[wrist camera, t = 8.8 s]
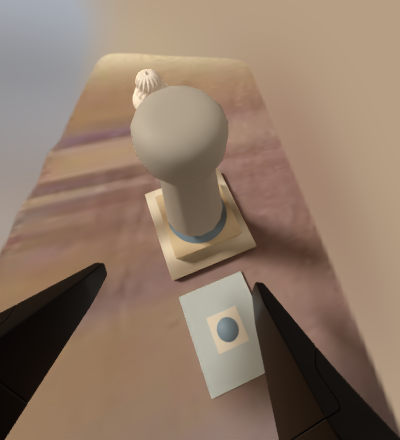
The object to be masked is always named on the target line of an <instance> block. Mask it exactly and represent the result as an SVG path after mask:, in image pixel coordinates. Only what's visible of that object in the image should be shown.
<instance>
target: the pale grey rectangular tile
mask: <svg viewBox="0 0 400 440" xmlns="http://www.w3.org/2000/svg"><path fill="white" fill-rule="evenodd" d="M179 300H180V303H181V306H182V309H183V312H184V315H185V318H186V321H187V324H188V327H189V331H190V334H191V337H192V340H193V343H194V346H195V349H196V352H197V355H198V359H199V362H200V365H201V368H202V371H203V374H204V377H205V380H206V383H207V386H208V390H209V393H210V396H211V399H213V398H215V397H217V396H219V395H221V394H223V393H225V392H228V391H230V390H232V389H234V388H236V387H238V386H240V385H242V384H244V383H246V382H248V381H250V380H252V379H254V378H256V377H258V376H260V375H262V374H264V373H265V370H264V366H263V361H262V356H261V351H260V346H259V342H258V337H257V332H256V327H255V320H254V311H253V301H252V296H251V293H250V291H249V289H248V287H247V284H246V282H245V280H244V278H243V275H242V273H241V271H239V272H237V273H234V274H232V275H230V276H227V277H225V278H223V279H220V280H218V281H215V282H213V283H211V284H208V285H206V286H204V287H201V288H199V289H197V290H194V291H192V292H189V293H187V294H185V295H182V296H180V297H179Z"/></svg>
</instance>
